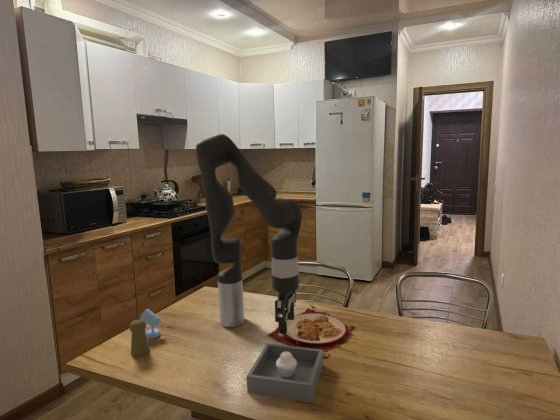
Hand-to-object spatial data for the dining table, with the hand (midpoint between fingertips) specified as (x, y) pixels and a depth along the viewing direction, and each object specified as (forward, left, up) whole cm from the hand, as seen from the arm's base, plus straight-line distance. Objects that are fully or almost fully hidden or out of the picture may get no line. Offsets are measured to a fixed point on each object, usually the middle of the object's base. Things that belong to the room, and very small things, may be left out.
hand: (286, 326), depth 108 cm
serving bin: (0, 0, -16) cm, 16 cm away
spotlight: (-14, -55, -16) cm, 59 cm away
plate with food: (-29, +3, -17) cm, 34 cm away
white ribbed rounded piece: (0, 0, -15) cm, 15 cm away
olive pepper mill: (-3, -52, -16) cm, 55 cm away
